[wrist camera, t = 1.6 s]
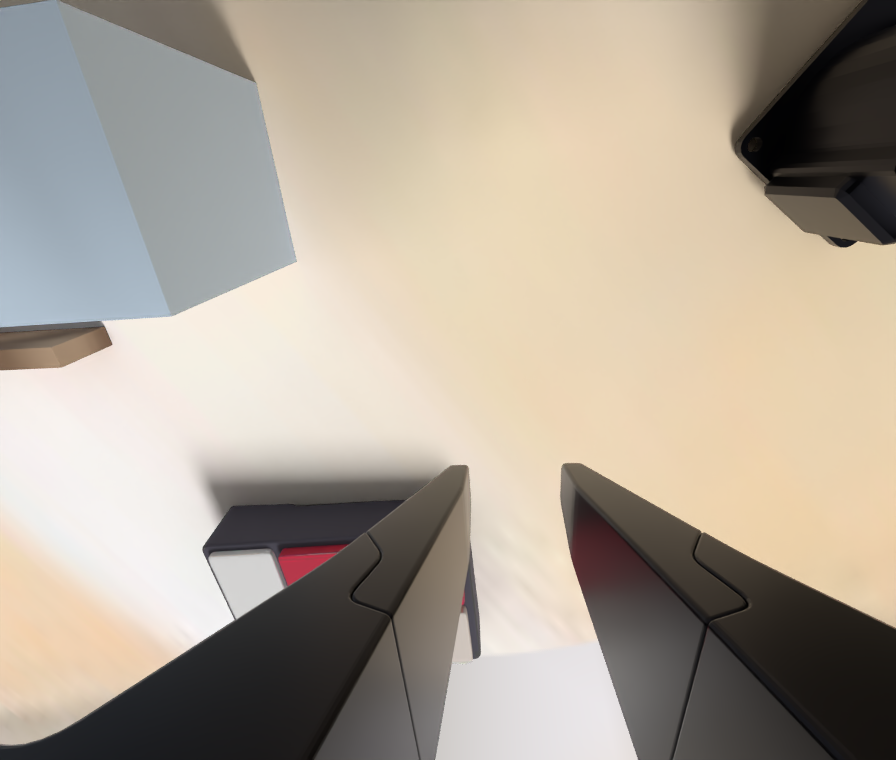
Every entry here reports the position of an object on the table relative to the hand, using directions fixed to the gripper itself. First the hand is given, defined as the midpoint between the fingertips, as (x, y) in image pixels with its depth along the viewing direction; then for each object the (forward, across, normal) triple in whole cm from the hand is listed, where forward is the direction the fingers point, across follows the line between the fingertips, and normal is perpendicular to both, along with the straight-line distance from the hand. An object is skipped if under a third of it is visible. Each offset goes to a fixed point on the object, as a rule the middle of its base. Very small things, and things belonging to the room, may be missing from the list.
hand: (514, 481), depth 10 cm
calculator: (+13, -10, -16) cm, 23 cm away
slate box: (+12, -17, +7) cm, 22 cm away
